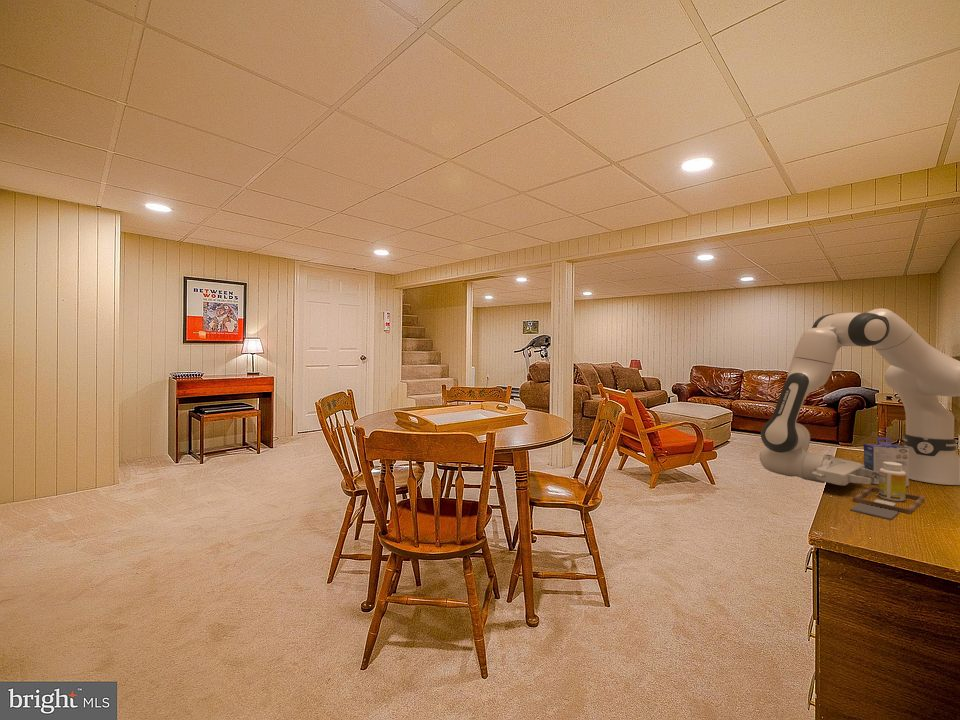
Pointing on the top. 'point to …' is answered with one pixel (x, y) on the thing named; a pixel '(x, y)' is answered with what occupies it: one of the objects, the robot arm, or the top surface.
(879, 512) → the pad
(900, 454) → the ink cartridge box
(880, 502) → the flat tile
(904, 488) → the supplement bottle
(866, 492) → the brown rectangular frame
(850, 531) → the top surface
